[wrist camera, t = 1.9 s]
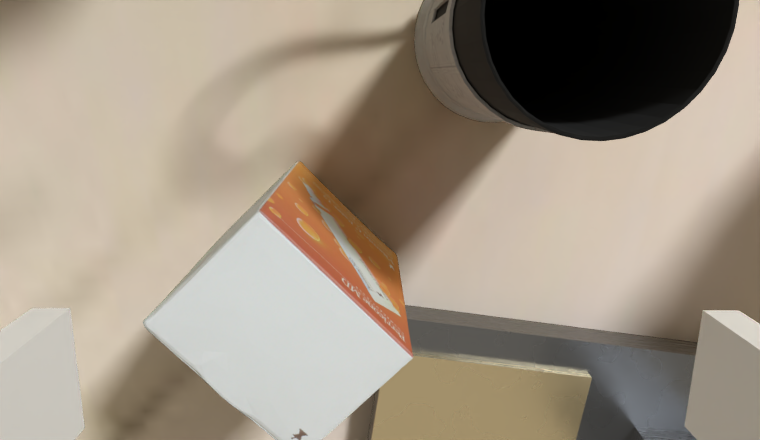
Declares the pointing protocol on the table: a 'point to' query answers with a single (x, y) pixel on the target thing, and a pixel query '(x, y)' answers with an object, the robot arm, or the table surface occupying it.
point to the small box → (291, 312)
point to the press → (532, 383)
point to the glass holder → (572, 60)
